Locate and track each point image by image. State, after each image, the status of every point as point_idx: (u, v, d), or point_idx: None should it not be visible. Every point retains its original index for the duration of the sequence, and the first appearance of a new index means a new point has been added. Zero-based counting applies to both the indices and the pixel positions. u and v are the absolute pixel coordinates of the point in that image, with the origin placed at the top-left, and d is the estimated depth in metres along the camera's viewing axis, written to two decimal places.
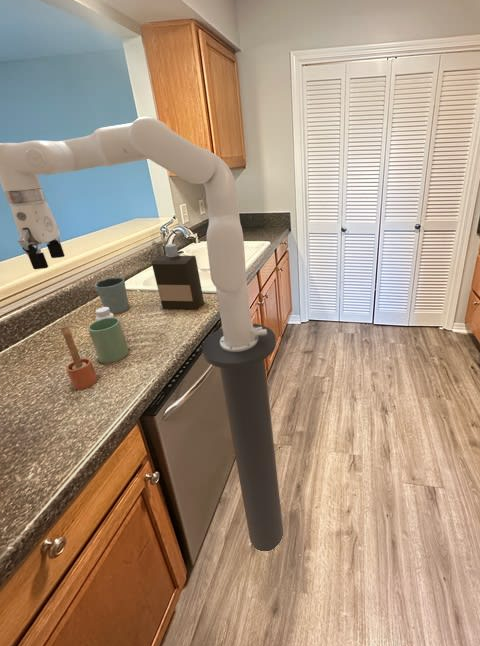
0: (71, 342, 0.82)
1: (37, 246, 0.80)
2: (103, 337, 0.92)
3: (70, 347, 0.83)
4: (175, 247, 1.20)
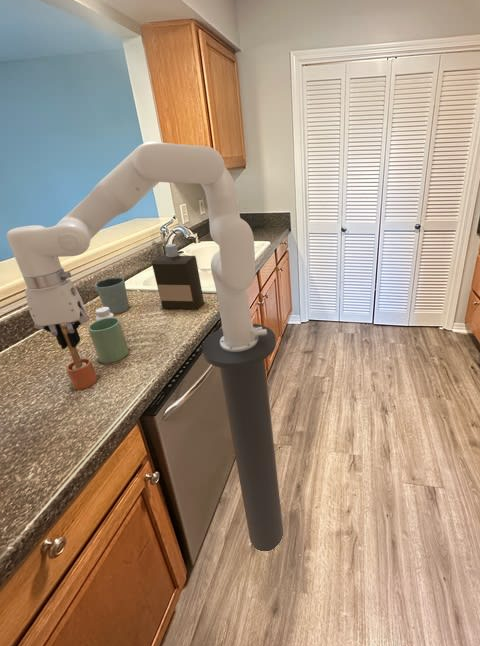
0: None
1: None
2: (103, 337, 0.92)
3: (70, 347, 0.83)
4: (175, 247, 1.20)
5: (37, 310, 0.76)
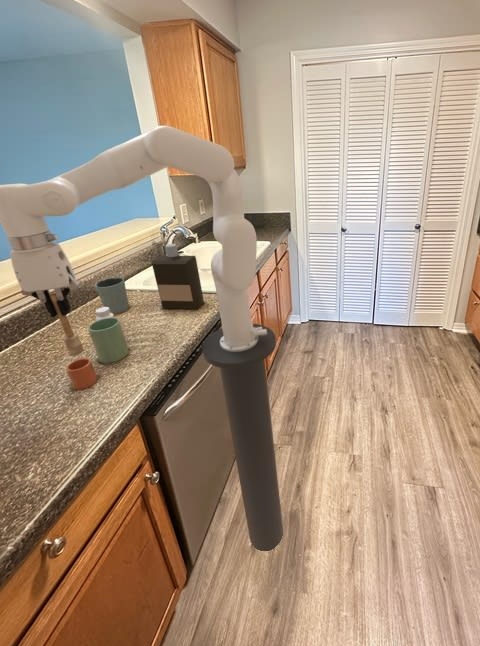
0: None
1: None
2: (103, 337, 0.92)
3: (59, 315, 0.79)
4: (175, 247, 1.20)
5: (23, 274, 0.72)
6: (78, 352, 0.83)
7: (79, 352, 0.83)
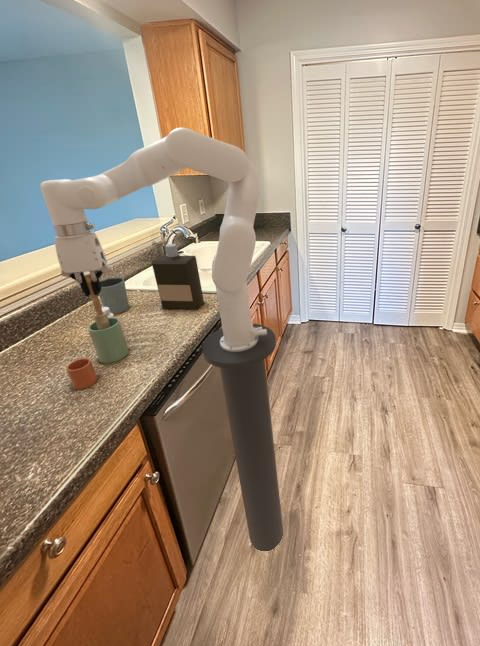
0: None
1: None
2: (103, 337, 0.92)
3: (92, 295, 0.91)
4: (175, 247, 1.20)
5: (65, 257, 0.84)
6: (106, 328, 0.95)
7: None
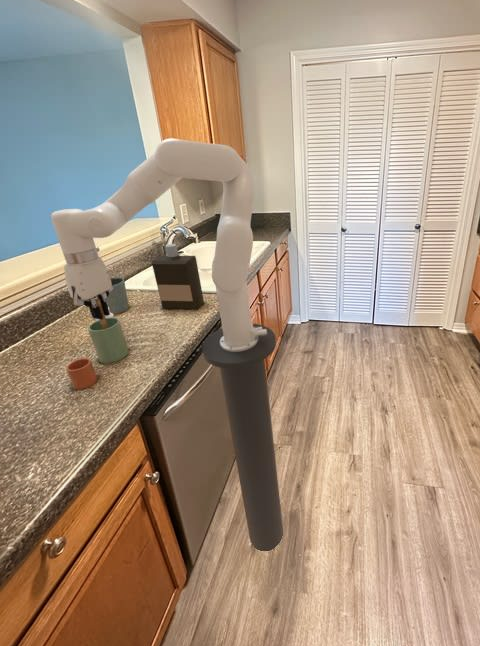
0: (103, 312, 0.94)
1: None
2: (103, 337, 0.92)
3: (103, 317, 0.94)
4: (175, 247, 1.20)
5: (86, 283, 0.86)
6: None
7: None
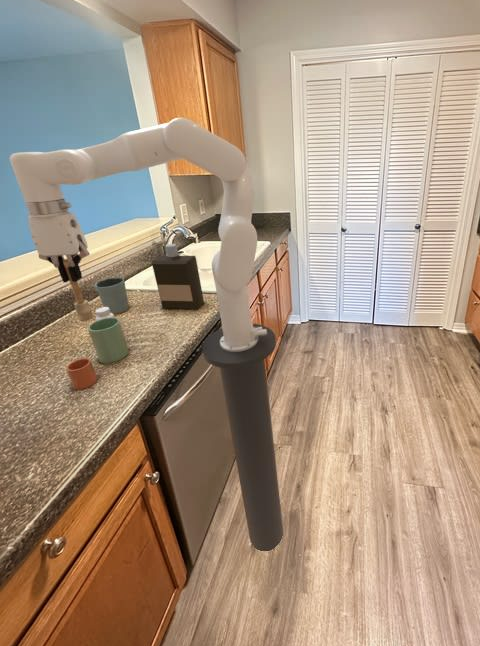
0: None
1: None
2: (103, 337, 0.92)
3: (71, 281, 0.83)
4: (175, 247, 1.20)
5: (39, 239, 0.77)
6: (87, 319, 0.87)
7: (87, 318, 0.87)
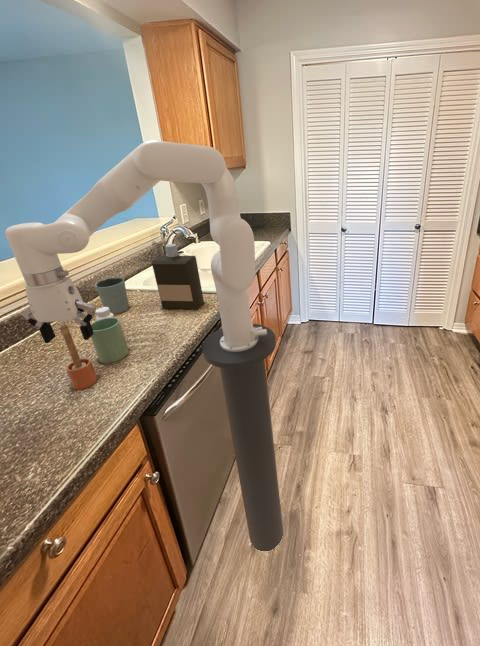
0: (70, 342, 0.82)
1: (86, 315, 0.81)
2: (103, 337, 0.92)
3: (69, 347, 0.83)
4: (175, 247, 1.20)
5: (36, 307, 0.76)
6: None
7: None
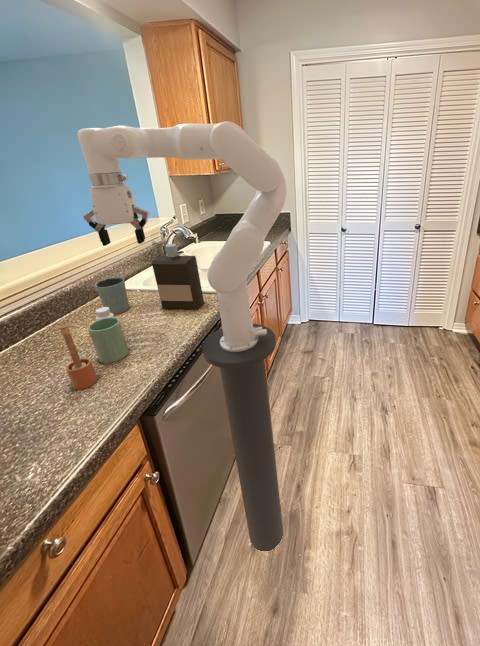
0: (70, 342, 0.82)
1: (139, 221, 0.91)
2: (103, 337, 0.92)
3: (69, 347, 0.83)
4: (175, 247, 1.20)
5: (99, 208, 0.85)
6: None
7: None
